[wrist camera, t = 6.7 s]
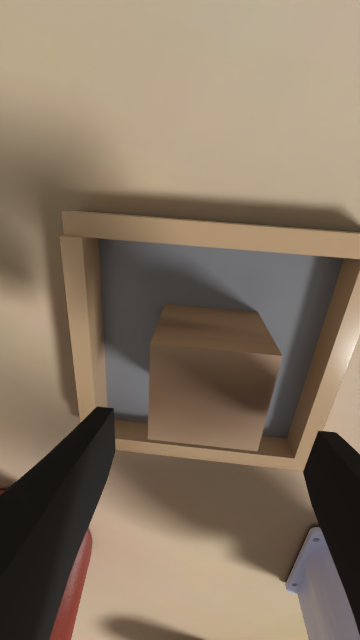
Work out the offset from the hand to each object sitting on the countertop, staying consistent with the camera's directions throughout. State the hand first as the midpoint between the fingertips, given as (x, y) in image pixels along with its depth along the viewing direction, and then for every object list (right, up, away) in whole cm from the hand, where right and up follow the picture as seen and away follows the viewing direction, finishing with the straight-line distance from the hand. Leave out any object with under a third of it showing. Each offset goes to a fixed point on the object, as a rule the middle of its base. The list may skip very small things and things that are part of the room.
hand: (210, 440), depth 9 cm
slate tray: (0, +3, +6) cm, 7 cm away
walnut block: (0, +3, +6) cm, 6 cm away
